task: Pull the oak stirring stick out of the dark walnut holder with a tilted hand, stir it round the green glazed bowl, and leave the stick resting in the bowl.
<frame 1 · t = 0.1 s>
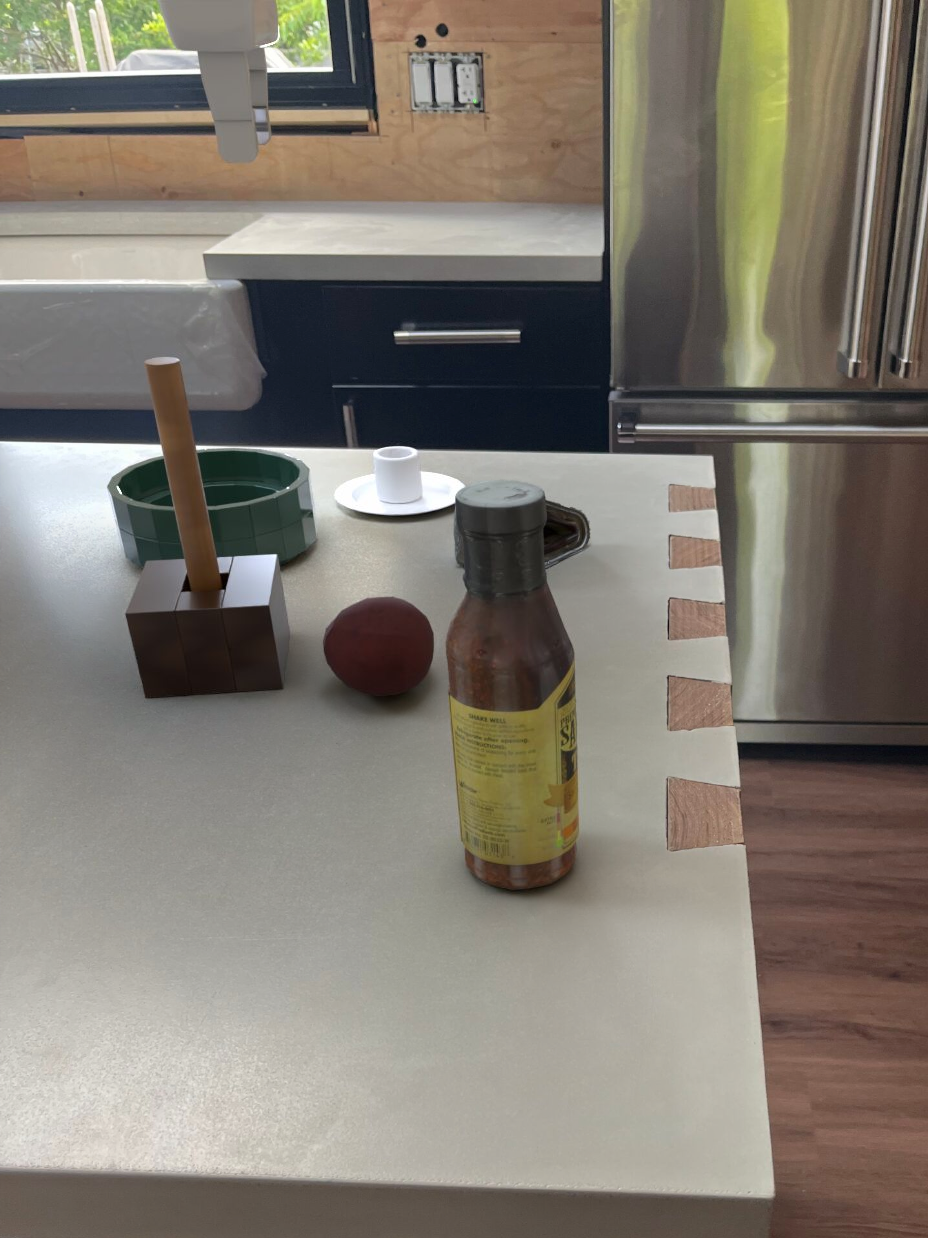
hand: (248, 152, 62), 31 cm above the kitchen island, tool pointing down, fingers open, 8 cm apart
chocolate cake: (514, 557, 99), on the kitchen island
potato: (384, 689, 79), on the kitchen island
candle holder: (401, 501, 110), on the kitchen island
sauce bottle: (520, 862, 63), on the kitchen island
stirring stick: (193, 523, 76), in the stick holder
bowl: (223, 547, 99), on the kitchen island
stick holder: (221, 663, 82), on the kitchen island
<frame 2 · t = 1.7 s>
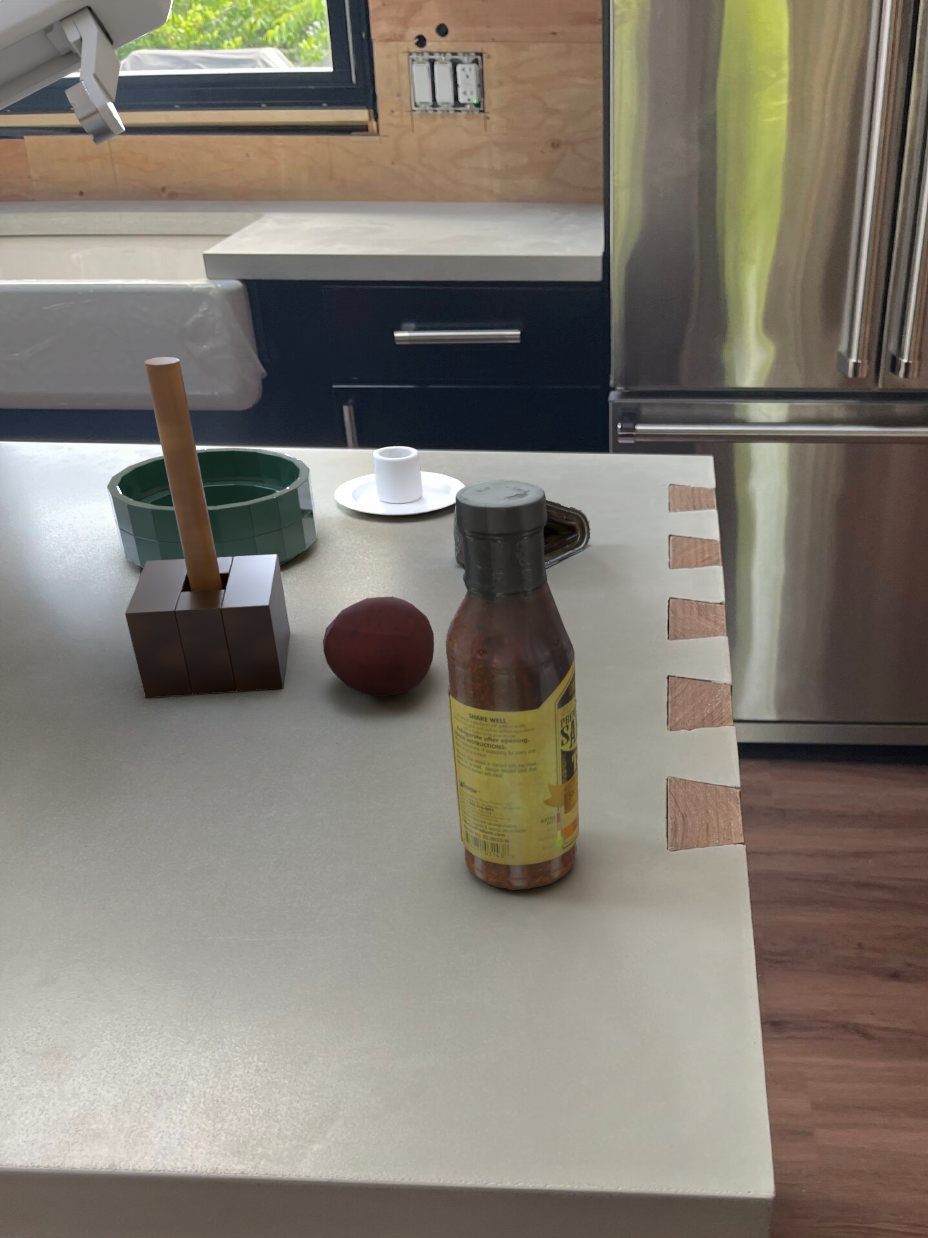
hand: (11, 177, 53), 31 cm above the kitchen island, tool tilted 50°, fingers open, 8 cm apart
nothing on the kitchen island moved.
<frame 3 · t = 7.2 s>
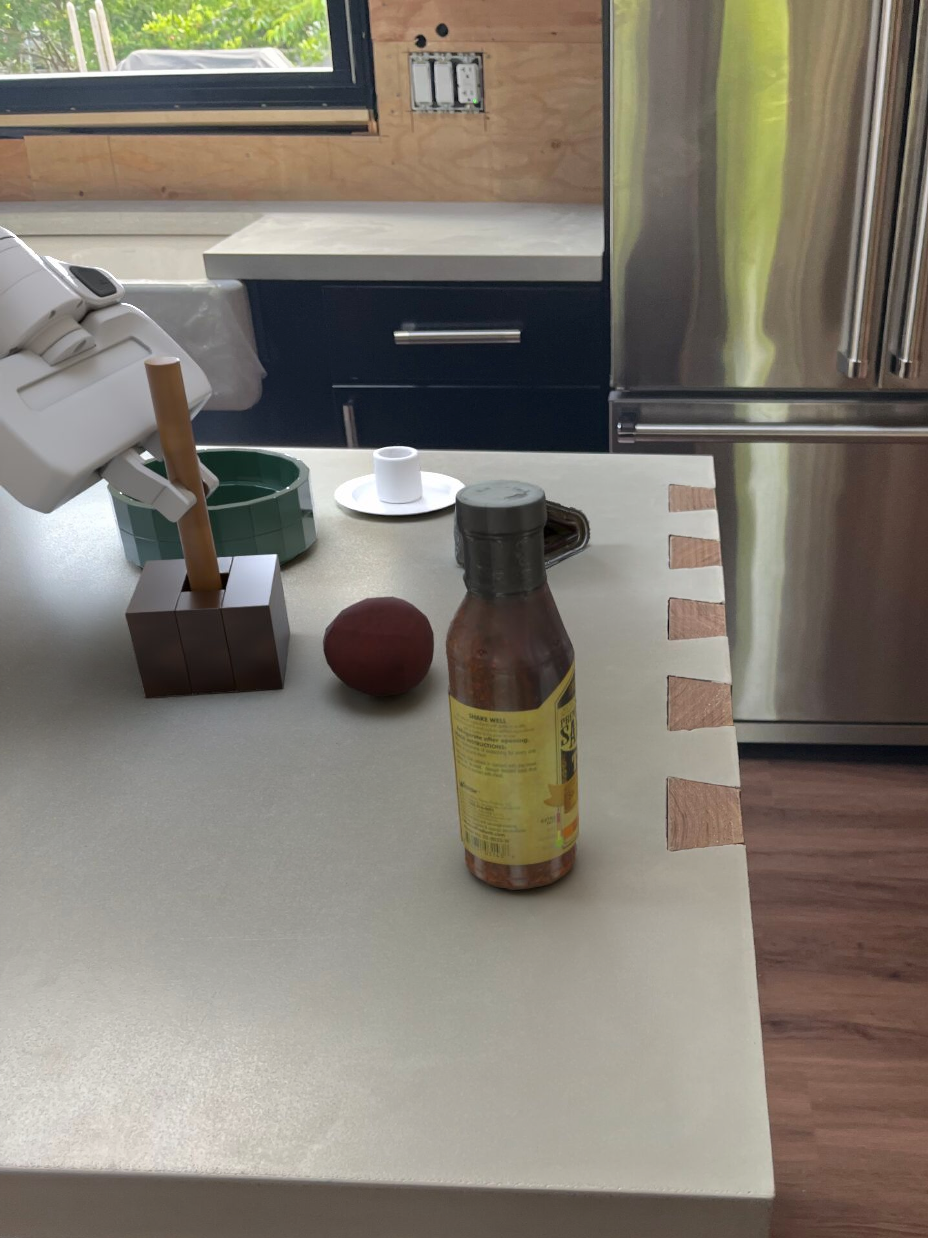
hand: (199, 503, 75), 11 cm above the kitchen island, tool tilted 45°, fingers closed on stirring stick, 2 cm apart
stirring stick: (193, 523, 76), in the stick holder, touching gripper
everything else where it was.
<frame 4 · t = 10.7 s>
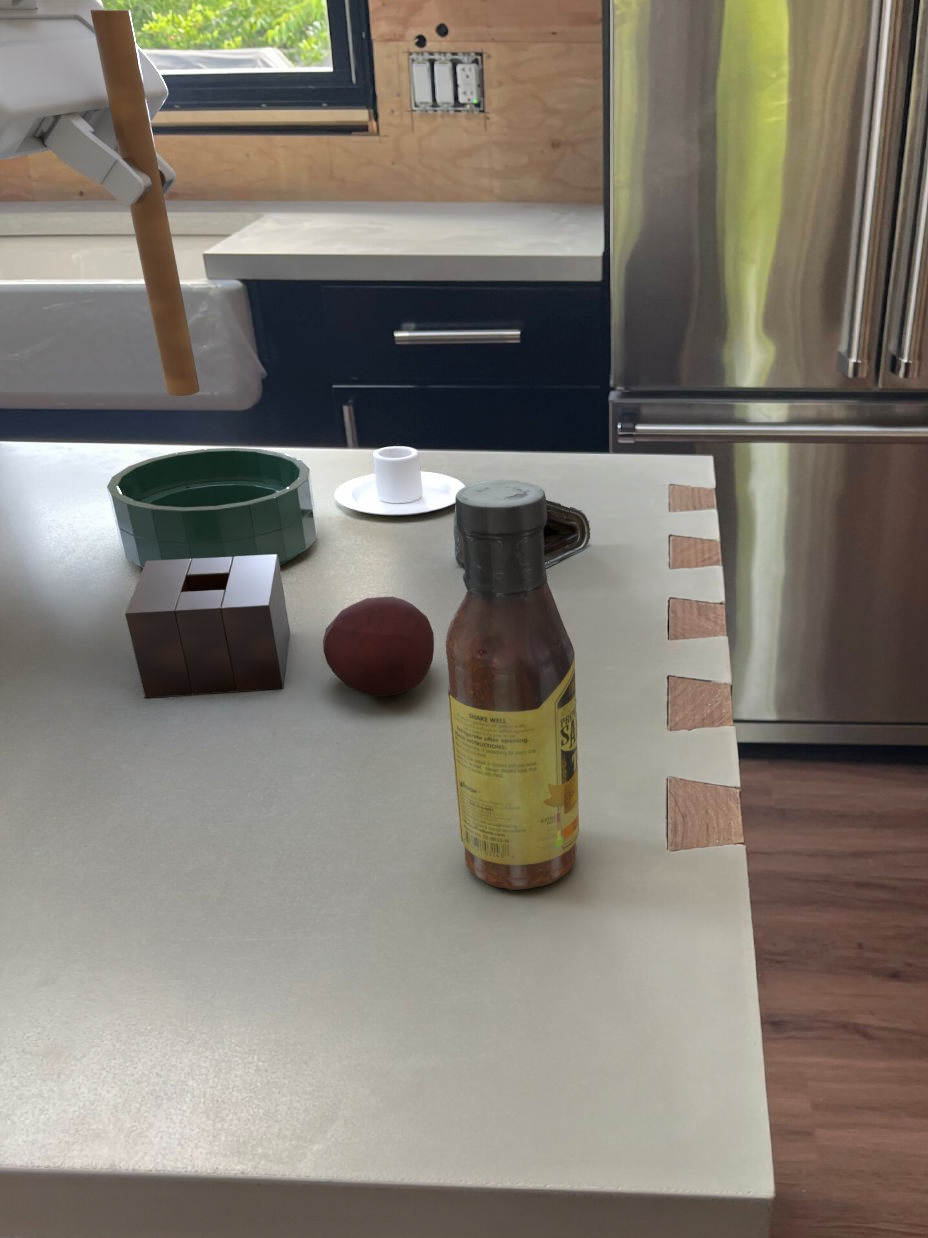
hand: (154, 192, 69), 28 cm above the kitchen island, tool tilted 45°, fingers closed on stirring stick, 2 cm apart
stirring stick: (149, 216, 69), point 27 cm above the kitchen island, touching gripper
everything else where it was.
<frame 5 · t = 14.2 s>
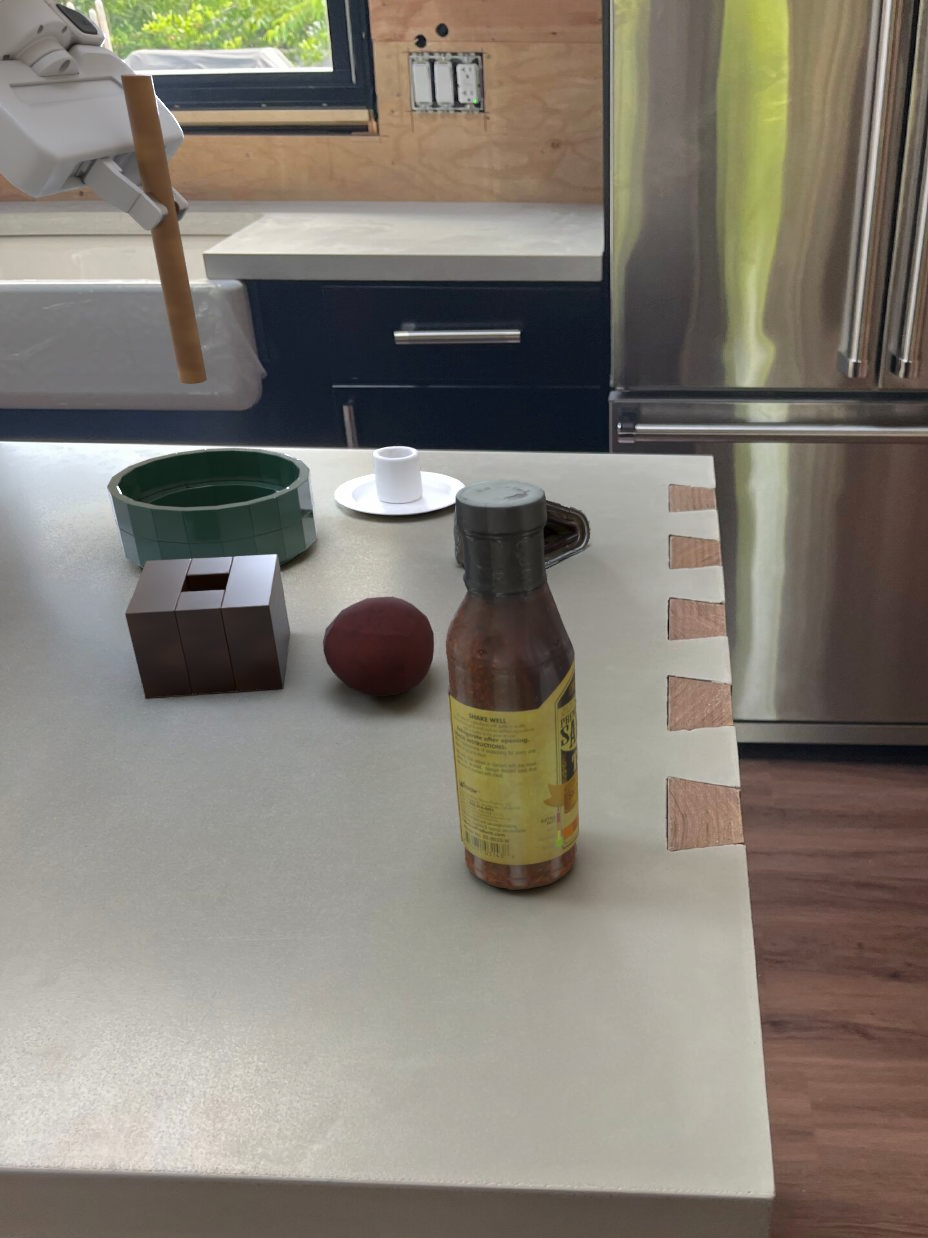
hand: (170, 219, 85), 25 cm above the kitchen island, tool tilted 45°, fingers closed on stirring stick, 2 cm apart
stirring stick: (166, 237, 86), point 24 cm above the kitchen island, touching gripper
everything else where it was.
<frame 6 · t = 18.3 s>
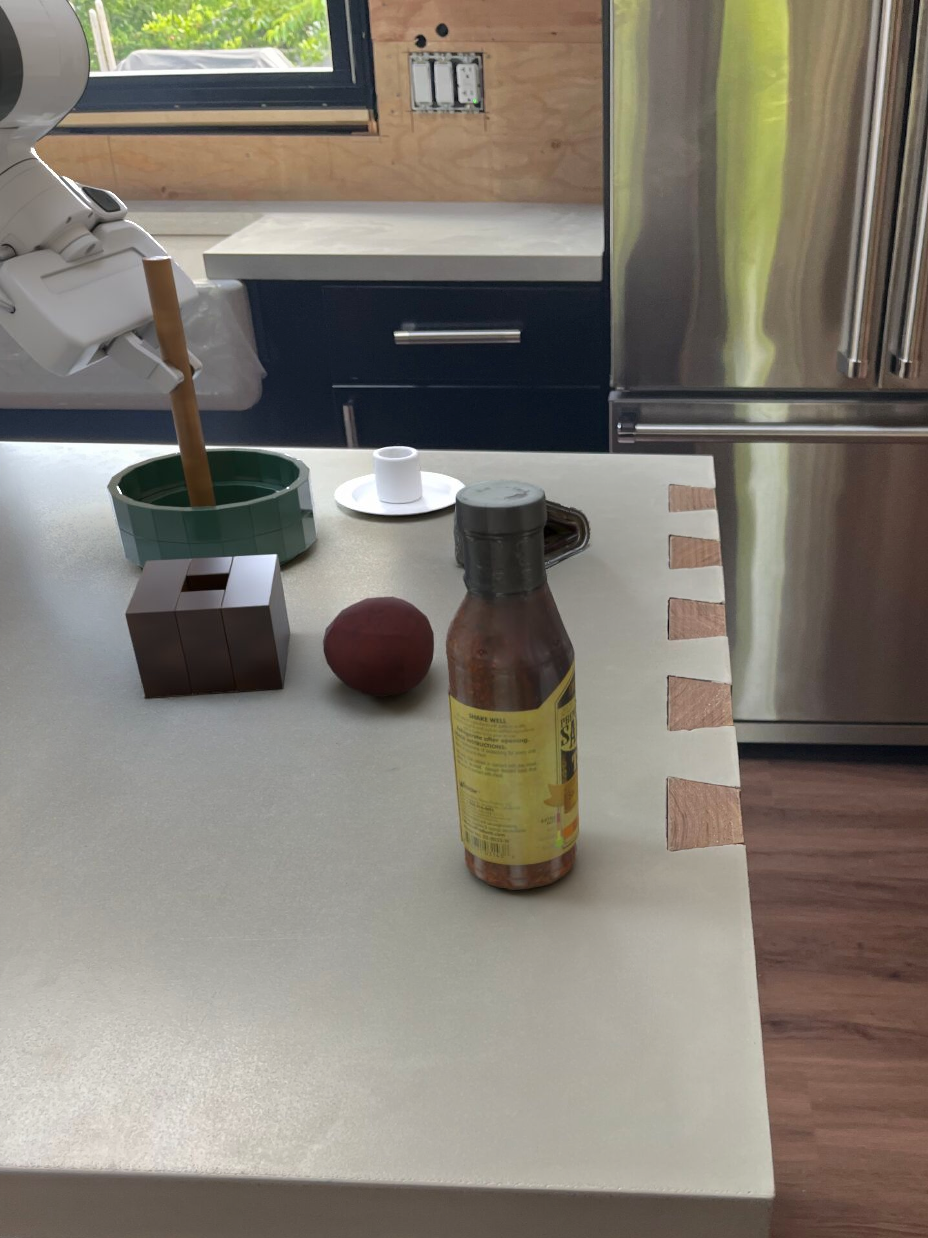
hand: (186, 381, 92), 13 cm above the kitchen island, tool tilted 45°, fingers closed on stirring stick, 2 cm apart
stirring stick: (182, 397, 93), point 12 cm above the kitchen island, touching gripper
everything else where it was.
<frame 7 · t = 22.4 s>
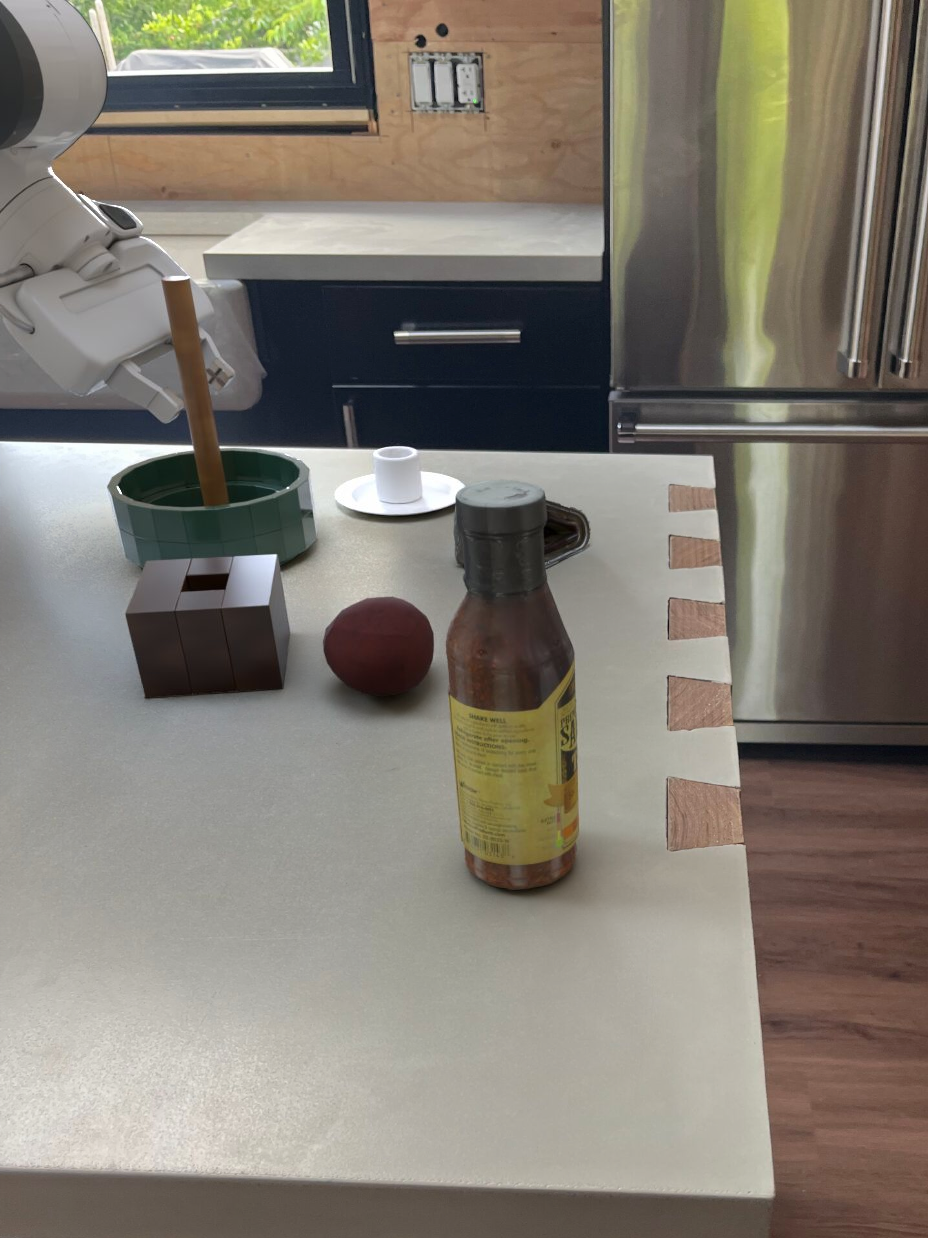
hand: (203, 398, 92), 12 cm above the kitchen island, tool tilted 45°, fingers open, 8 cm apart
stirring stick: (200, 415, 93), in the bowl, point 11 cm above the kitchen island
everything else where it was.
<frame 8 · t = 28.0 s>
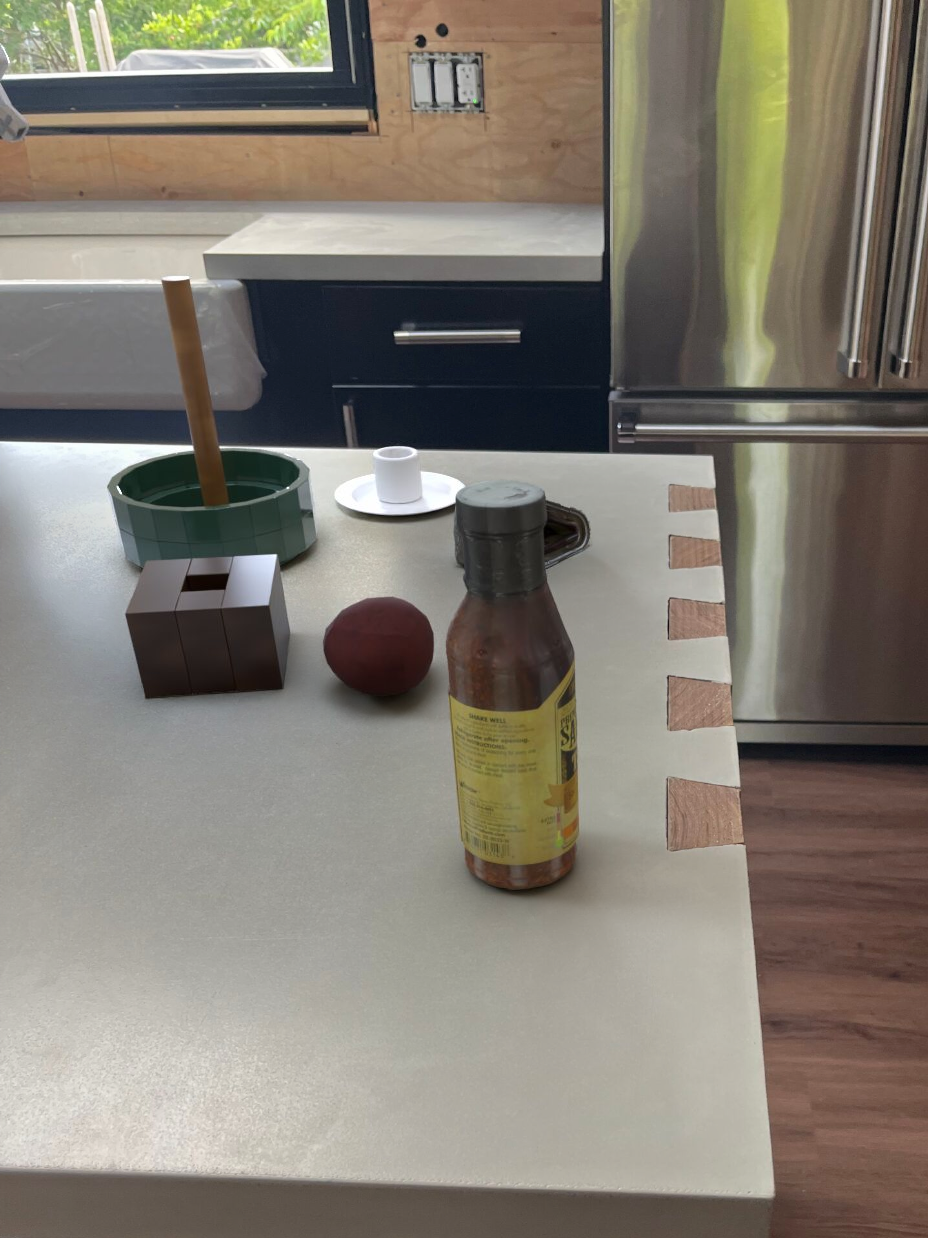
nothing on the kitchen island moved.
at the end: stirring stick inside the target area in the bowl (0.2 cm from its centre), point 10.8 cm above the bowl's base; the gripper is holding nothing; stirring stick moved 22.3 cm from its start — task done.
